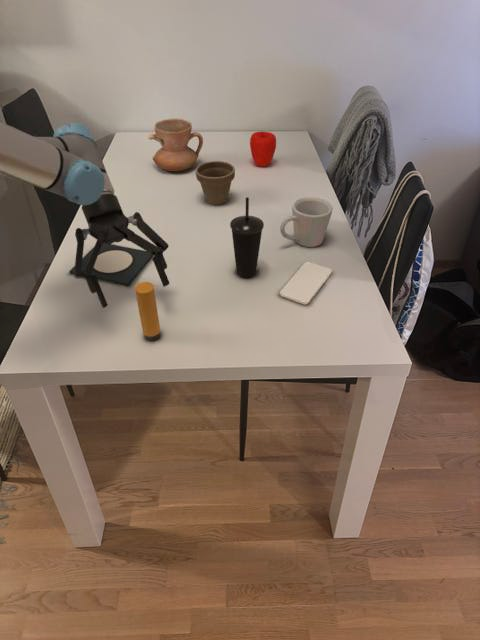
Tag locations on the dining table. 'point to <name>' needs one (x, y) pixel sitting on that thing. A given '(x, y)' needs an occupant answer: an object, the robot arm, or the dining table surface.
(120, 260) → the black coaster mat
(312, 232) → the mug
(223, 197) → the flower pot
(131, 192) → the dining table surface
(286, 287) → the smartphone
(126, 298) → the dining table surface
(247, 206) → the drinking cup
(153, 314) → the marker
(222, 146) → the dining table surface
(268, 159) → the red rounded lobed shape
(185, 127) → the ceramic jug
